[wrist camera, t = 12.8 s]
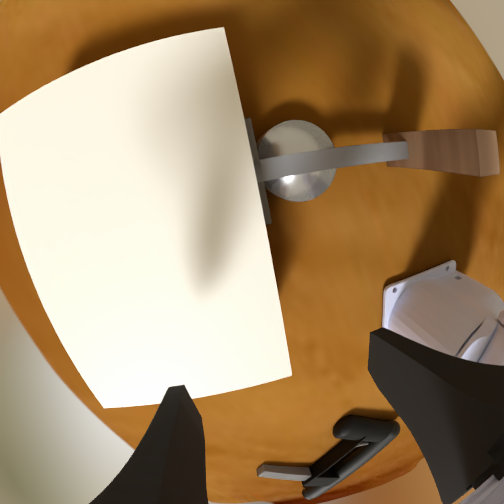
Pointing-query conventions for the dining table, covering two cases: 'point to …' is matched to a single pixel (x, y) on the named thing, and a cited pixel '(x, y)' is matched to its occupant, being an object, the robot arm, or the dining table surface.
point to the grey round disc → (290, 142)
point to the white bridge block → (147, 222)
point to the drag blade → (388, 156)
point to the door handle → (339, 455)
